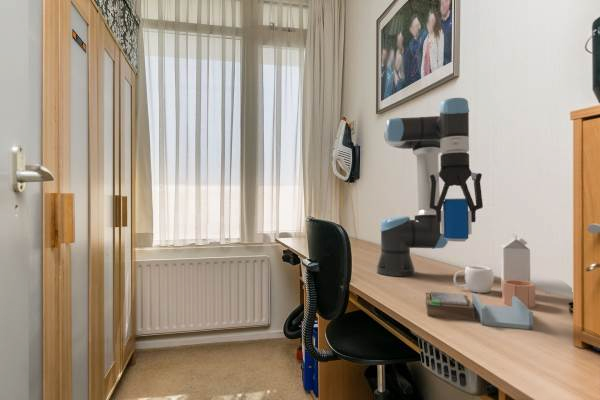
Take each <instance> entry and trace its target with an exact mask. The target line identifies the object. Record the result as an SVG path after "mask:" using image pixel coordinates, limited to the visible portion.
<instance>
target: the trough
mask: <svg viewBox="0 0 600 400" xmlns="http://www.w3.org/2000/svg"><path fill="white" fill-rule="evenodd" d="M471 299H472V300H471V304H472V305H473V307H474V314H475V316H476V317H477V318H478V321H479V322H480V324H481V326H491V327H502V328H510V329H511V328H512V329H520V330H521V329H522V330H532V331H533V330H534V313H533V311H532V310H531V309H530V308H527V307H526V306H525V305H524V304H523V303H522V302H521V301H520V300H519V299H518V298H517V297H516V296H512V306H501V305H489V304H483V303H482V301H481V300H480V299H479V297H478V295H477V294H476V292H472V293H471Z"/></svg>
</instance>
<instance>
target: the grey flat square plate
mask: <svg viewBox="0 0 600 400" xmlns="http://www.w3.org/2000/svg"><path fill="white" fill-rule="evenodd" d="M430 293H431V299H432V300H439V301H440V304H449V305H462V306H467V301H466V299H465V297H464V294H463V293H453V292H452V293H451V292H440V291H430Z"/></svg>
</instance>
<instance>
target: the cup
mask: <svg viewBox="0 0 600 400" xmlns="http://www.w3.org/2000/svg"><path fill="white" fill-rule="evenodd" d="M501 295H502V296H501V300H502V303H504V304H505V305H507V306H510V307H512V296H516V297H517V298H518V299H519V300H520V301H521V302H522V303H523V304H524V305H525V306H526V307H527V308H529V309H530V308H534V307H535V308H536V284H534V283H533V282H531V281H530V282H526V281H520V280H504V281H502V290H501Z"/></svg>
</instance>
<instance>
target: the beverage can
mask: <svg viewBox="0 0 600 400" xmlns="http://www.w3.org/2000/svg"><path fill="white" fill-rule="evenodd" d="M442 207H443V208H442V209H443V210H442V211H444V238H445V239H446V240H447V241H448V242H459V243H460V242H466V241H467V240H468V239H469V234H468V211H469V207H468V202H467V201H466V199H465V197H463V198H445V200H444V202H443V205H442Z"/></svg>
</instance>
